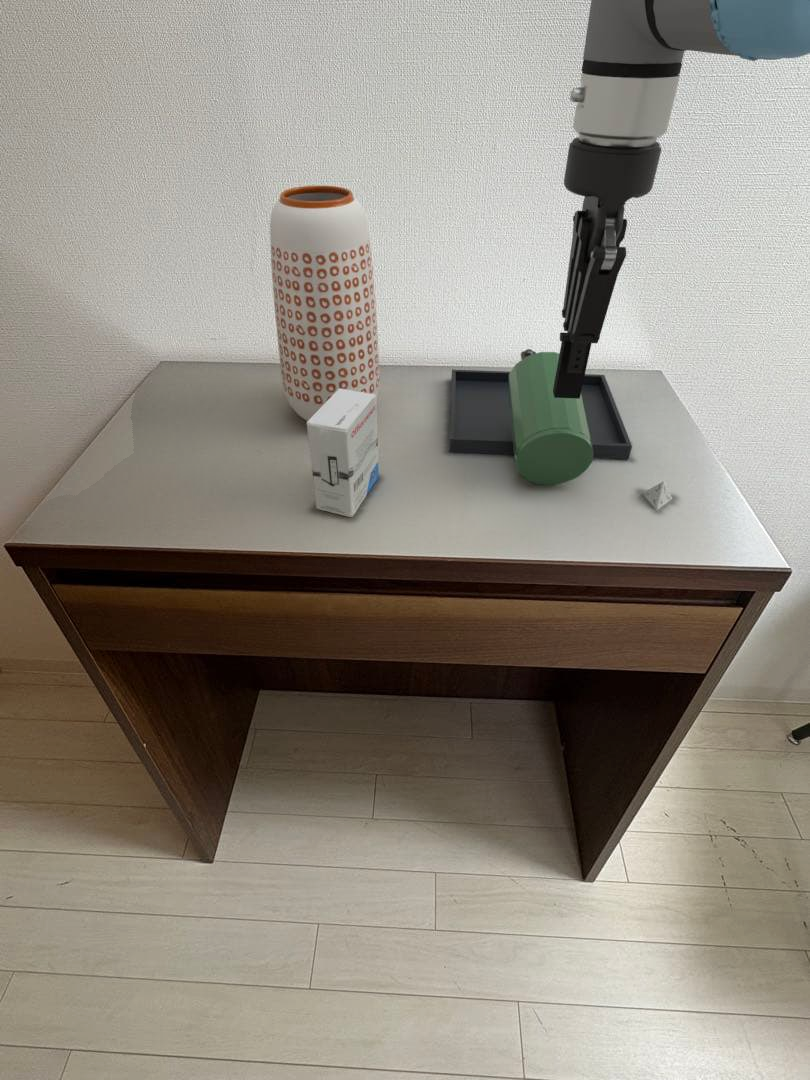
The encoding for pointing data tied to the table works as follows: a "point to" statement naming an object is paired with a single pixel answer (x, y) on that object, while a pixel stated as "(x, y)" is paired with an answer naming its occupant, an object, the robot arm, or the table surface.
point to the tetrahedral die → (658, 495)
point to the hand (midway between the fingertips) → (566, 394)
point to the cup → (546, 424)
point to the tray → (488, 424)
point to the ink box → (344, 450)
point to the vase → (323, 296)
